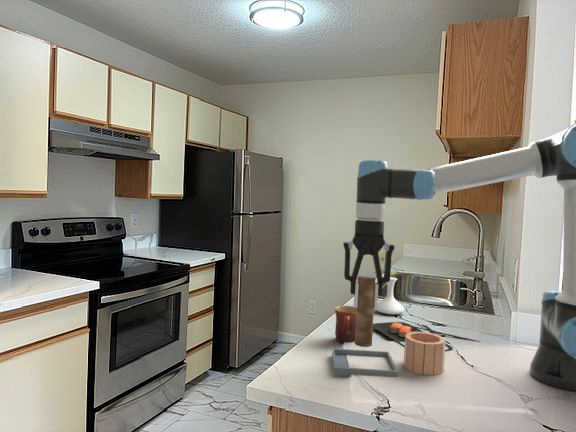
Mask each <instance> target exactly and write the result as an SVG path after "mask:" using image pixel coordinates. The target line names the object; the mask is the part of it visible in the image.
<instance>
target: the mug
mask: <svg viewBox="0 0 576 432" xmlns="http://www.w3.org/2000/svg"><path fill="white" fill-rule="evenodd" d="M333 310H334V313H335V319H336V320H335V331H334V334H335V340H336V341H337V342H338V343H340V344H343V345H345V343H353V342H354V343H355V330H356V311H357V308H355V307H354V305H338V306H335V307H334V308H333Z"/></svg>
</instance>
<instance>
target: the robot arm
mask: <svg viewBox="0 0 576 432" xmlns="http://www.w3.org/2000/svg"><path fill="white" fill-rule="evenodd" d="M530 176H531V177H532V176H534V177H536V178H537V179H541V178H546V177H554V176H555V177H556V183H557V184H558V185H560V187H561V188H562V189H563V247H562V249H563V256H562V257H563V258H562V259H563V260H562V261H563V263H562V264H563V265H562V267H563V268H562V270H563V271H562V272H563V273H562V291H561V290H547V291H545V292H543V294H542V300H541V312H540V313H541V314H540V327H539V328H540V329H539V342H538V343H539V344H538V348H537V349H536V352H535V354H534V356H533V358H532V360H531V362H530V365H529V366H530V367H529V374H530V375H531V376H532V377H533V378H535V379H536V380H537V381H539V382H541V383H544V384H546V385H548V386H552V387H555V388H559V389H562V390H567V391H574V392H576V123H574V124H572V125H570V126H569V127H568V128H566V129H564V130H562V131H559V132H558V133H556V134H554V135H551V136H548V137H546V138H543V139H540V140H536V141H535V140H534V141H532V142H530V143H529V144H528V146H526V147H521V148H516V149H512V150H508V151H502V152H499V153H495V154H491V155H485V156H481V157H475V158H471V159H467V160H463V161H458V162H457V161H456V162H453V163H449V164H445V165H439V166H436V167H435V166H434V167H430V168H425V169H423V168H422V169H421V168H419V169H409V168H408V169H404V168H403V169H393V168H389V167H388V163H387V161H383V160H373V159H372V160H371V159H370V160H363V161H360V162H359V164H358V172H357V178H356V179H357V180H356V200H355V201H356V204H355V218H357V219H356V220H355V222H354V235H353V236H354V237H352V240H349V241H344V242H342V245H343V248H344V271H343V272H344V273H343V276H344V279H345V280H346V281H349V282H350V287H349V288H350V290H349V291H350V294H351V295H353V307H355V308H357V307H358V288H359V283H358V277H359V272H360V269H361V266H362V262H363V258H364V256H366V255H367V256H368V255H370V256H372V261H373V264H374V273H375V272H376V274H375V278H376V281H375V294H374V310H376V309H377V303H379V301H378V298H379V297H381V296H382V295H383V284H385V283H387V282H389V281H390V277H391V275H390V272H391V271H392V260H391V258H392V259H393V256H392V255H393V251H394V250H395V245H394V244H392V243H388V242H386V240H385V237H384V236H385V235H384V231H385V222H384V221H383V220H384V219H385V215H386V200H387V199H405V200H406V199H407V200H408V199H409V200H419V201H420V200H421V201H422V200H432V199H433V198H434V196H435V195H439V194H440V195H441V194H444V193H449V192H450V193H451V192H454V191H460V190H465V189H471V188H474V187H475V188H476V187H479V186H484V185H485V186H486V185H489V184H496V183H500V182H506V181H511V180H516V179H521V178H525V177H530ZM353 245H354V247H355V248H356V250H357V254H356V259H355V263H354V266H353V270H352V272H350V271H351V269H350V268H351V250H352V249H353ZM383 247H384V250H385V251H386V255H385V268H384V269H383V270H384V274H381V269H382V268H381V266H380V262H379V255H378V252H380V251H381V250H382V248H383ZM350 273H351V275H350Z"/></svg>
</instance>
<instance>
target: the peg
mask: <svg viewBox="0 0 576 432" xmlns="http://www.w3.org/2000/svg"><path fill="white" fill-rule="evenodd" d="M357 281H358V283H359V288H358V307H357V311H356V330H355V342H354V345H355V346H357V347H361V348H369V347H372V346H373V331H374V328H373V324H374V314H375V313H374V311H375V309H374V294H375V282H376V277H374V276H370V275H358V276H357Z"/></svg>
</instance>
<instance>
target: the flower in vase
mask: <svg viewBox="0 0 576 432" xmlns="http://www.w3.org/2000/svg"><path fill="white" fill-rule="evenodd" d="M378 255H379V262H380V267H383V266H384V269H385V255H386V251H385V249H384V250H382V249H381V250H380V251H379V252H378ZM391 261H393V257H392V258H391ZM384 269H382V268H381V274H382V275H384ZM397 272H398V269H395V270H391V272H390V281H389V282H386V286H387V292H386V296H385V298H383V299H382V300H380V301H378V302H377V309H375V310H376V311H377V312H379V313H381V314H385V315H386V314H387V315H399V314H402V313H404V311H405V308H404V306H403V305H402V304H401V303H400V302H399V301H398V300H396V298H395V297H394V287H395V284H396V282H397V281H398V278H397V277H393V275H395V274H396V273H397ZM374 274H375V275H376V272H375V271H374ZM391 276H392V277H391Z"/></svg>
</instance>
